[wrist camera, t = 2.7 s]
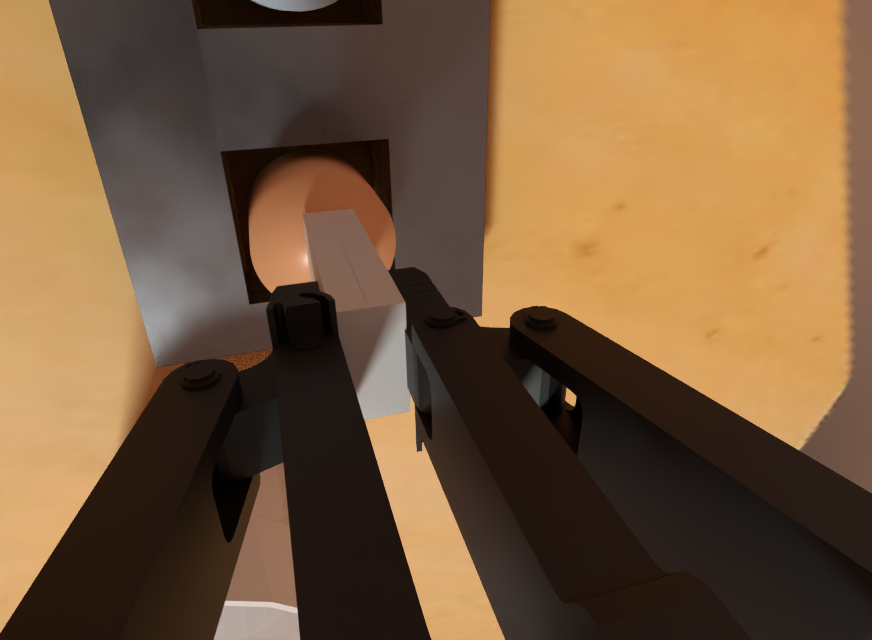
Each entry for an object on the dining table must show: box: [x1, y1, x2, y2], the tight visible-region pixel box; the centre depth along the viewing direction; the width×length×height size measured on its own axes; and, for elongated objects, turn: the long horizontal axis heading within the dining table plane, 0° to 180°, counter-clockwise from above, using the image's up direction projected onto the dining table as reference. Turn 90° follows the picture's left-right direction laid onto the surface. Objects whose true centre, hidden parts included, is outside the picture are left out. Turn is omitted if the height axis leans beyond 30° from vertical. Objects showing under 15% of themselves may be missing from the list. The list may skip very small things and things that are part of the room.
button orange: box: [248, 149, 396, 293], centre depth 19 cm, size 4×4×4 cm
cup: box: [214, 463, 300, 640], centre depth 23 cm, size 10×10×10 cm
